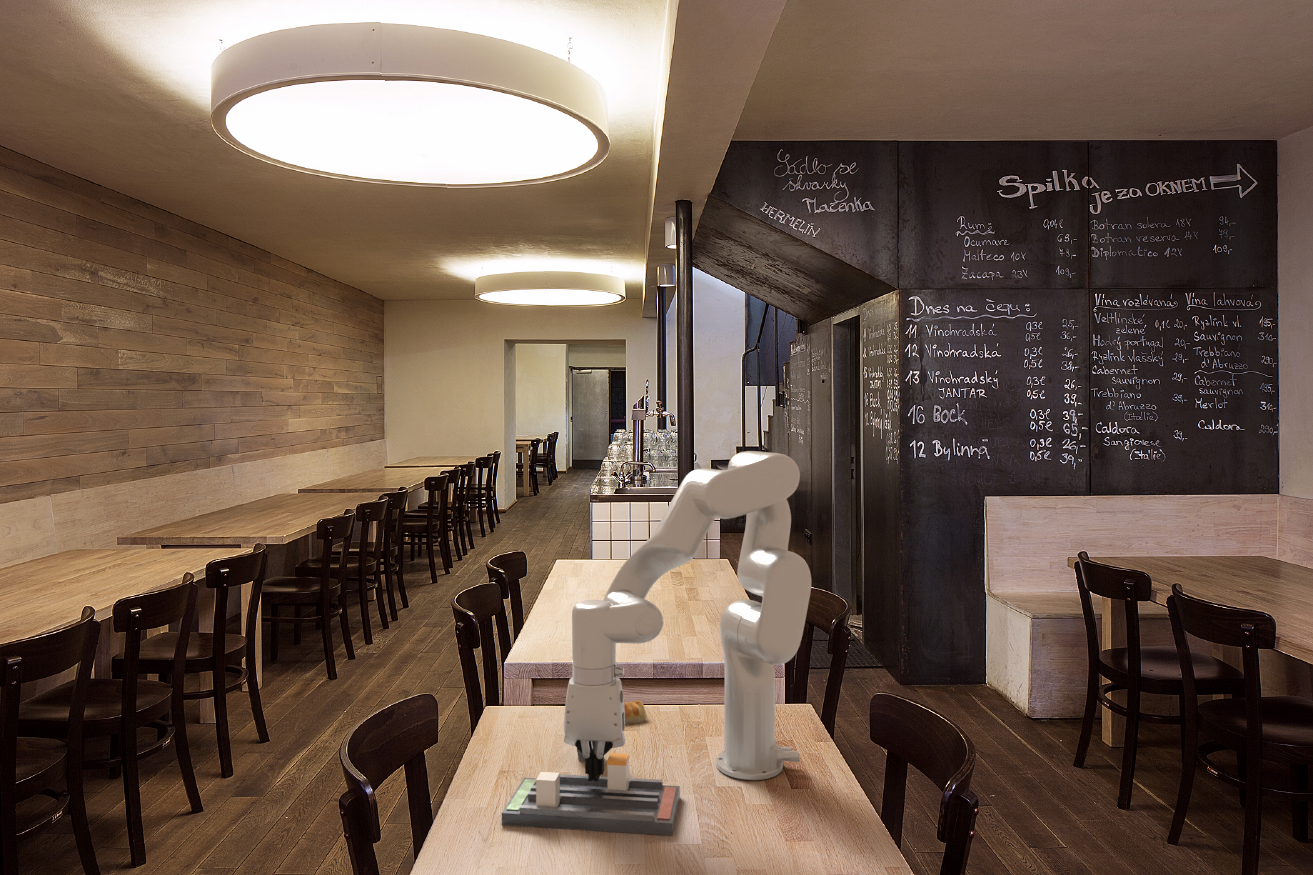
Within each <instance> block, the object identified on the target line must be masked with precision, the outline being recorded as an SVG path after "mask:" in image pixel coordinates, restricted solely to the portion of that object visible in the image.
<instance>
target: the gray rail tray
mask: <svg viewBox="0 0 1313 875" xmlns="http://www.w3.org/2000/svg"><path fill="white" fill-rule="evenodd" d="M537 778H538V777H524V778H523V779H522V781H521V782H520V783H519V786H518V787H517V789H516V790H515V792H514V793H513V795H512V796H511V798H510V799H509V801H508V802H507V803H506V806H505V807H504V809H503V810H502V812H501V826H511V827H530V828H542V829H543V828H544V829H547V828H548V829H561V830H572V831H573V830H576V831H588V832H589V831H590V832H604V833H605V832H606V833H608V832H609V833H623V834H638V835H639V834H640V835H641V834H642V835H651V836H652V835H653V836H654V835H656V836H673V834H674V828H675V822H676V818H677V813H678V809H679V804H680V797H681V787H680V785H666V784H663V783H664V780H663V779H653V778H637V777H636V778H634V777H629V788H628V790H627V791H624V790H608V776H602V775H600V778H599V780H598V782H595V781H594V780H593V781H588V775H582V774H581V775H579V774H562V773H561V774H560V803H559V805H558V807H550V806H536V779H537Z"/></svg>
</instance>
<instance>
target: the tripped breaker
mask: <svg viewBox="0 0 1313 875" xmlns="http://www.w3.org/2000/svg"><path fill="white" fill-rule="evenodd" d="M629 756H630V754H629V753H622V752H621V753H619V752H618V753H617V752H616V753H615V752H610V753H609V755H608V758H607V761H606V762H607V764H606V765H607V766H606V768H607V777H608V790H624V791H627V790H628V788H629V778H630V776H629V774H630V773H629V771H630V765H629V764H630V763H629V762H630V759H629V758H630V757H629Z"/></svg>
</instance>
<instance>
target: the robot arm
mask: <svg viewBox="0 0 1313 875" xmlns="http://www.w3.org/2000/svg"><path fill="white" fill-rule="evenodd" d="M800 477H801V473H800V468H799V466H798V464H797V463H796V462H795V460H794V459H793V458H791V457H790V456H788V455H787V454H783V453H778V452H768V451H767V452H765V451H758V450H757V451H756V450H746V451H741V452H739V453H736V454H735V455H733V456H732V457H731V458H730V459H729V462H728V465H727V469H725V470H724V469H723V470H722V469H714V468H696V469H694V470H691V471H690V472H688V473H687V474H686V475H685V477H684V478H683V479H682V481H681V483H680V484H679V486H678V488H677V490H676V492H675V494H674V495H673V498H672V499H671V501H670V503H669V505H668V506H667V508H666V510H665V512H664V514H663V516H662V517H661V519H660V521H659V523H658V524H657V526H656V528H655V530H654V532H653V533H652V534H651V536H650V537H649V538H648V539H647V540H646V541H645V542H644V543H643V544H642V545H641V546H639V547H638V549H637V550H636V551H635V552H634V553H633V554H631V556H630V557H629V558H627V560H626V561H625V562H624V563H623V565H622V566H621V567H620V568H619V570H618V571H617V574H616V575H615V577H614V578H613V580H612V582H611V584H610V585H609V588H608V589H607V591H606V593H605V595H604V598H603V599H587V600H582V601H579V602H577V603H575V604H574V606H573V608H572V611H571V638H572V639H571V647H572V648H571V659H572V660H571V661H572V662H571V663H572V664H571V665H572V672H571V674H572V677H571V678H569V681H568V684H567V691H566V697H565V706H564V720H563V732H564V738H563V743H564V744H566V745H569V746H573V747H575V748H576V749H577V748H578V749H579V750H580V752H581V753H582V754H583V757H584V758H585V763H584V765H585V766H584V767H585V768H584V771H585V772H584V773H585V775H587V776H588V781H593V780H594V781H595V782H598V780H599V778H600V776H603V775H604V772H605V755H607V753H608V752H610V751H611V750H612V749H616V748H617V749H618V748H621V747H624V746H625V744H626V738H625V733H624V731H625V728H626V724H625V710H624V702H625V701H624V692H623V686H622V681H621V679H620V678H619V677H620V676H623V677H624V675H625V667H621V666H618V664H617V661H616V660H617V652H616V649H617V648H616V646H617V645H616V644H637V645H638V644H646V643H649V642H651V641H653V640H655V639H656V638H657V637H659V635H660V634H661V631H662V630H663V627H664V616H663V614H662V612H661V610H660V609H659V607H658V606H657V605H656V604H654V603H653V602H651V601H649V600H648V599H646V598H647V596H648V593H649V592H650V590H651V588H652V587H653V586H654V585H655V584H656V582H657V581H658V580H659V579H660V578H661V577H662V576H664V575H665V574H666V573H668V572H669V571H672V570H674V569H676V568H679V567H681V566H684V565H685V564H686V565H687V563H689V562H691V561H692V560H693V559H694V558H695V556H696V554H697V553H698V551H699V549H700V547H701V545H702V543H703V541H704V539H705V537H706V536H707V533H708V532H709V531H710V528H711V526H712V524H713V523H714V522H715V520H716V518H718V519H723V520H726V519H727V520H729V519H734V518H737V517H742V516H745V515H746V521H745V530H744V534H743V539H742V544H741V550H740V554H739V559H738V565H737V573H736V575H737V580H738V582H739V584H740V586H741V587H742V588H743V589H745V590H746V591H748V592H750V593H751V594H754V595H756V596H759V597H762V599H761V602H759V601H756V600H751V599H747V598H746V599H737V600H734V601H733V602H731V603H730V604H728V605H727V607H726V608H725V609H724V611H723V612H722V615H721V618H720V623H719V635H720V640H721V647H722V651H723V652H722V654H723V662H724V664H723V665H724V666H723V668H724V722H723V723H724V724H723V725H724V726H723V727H724V743H723V744H724V749H723V750H724V751H722V752H720V753H719V754H718V755H717V757H716V760H715V761H716V764H715V765H716V767H717V768H716V769H718V770H719V771H720V772H721V773H722V774H725V775H726V776H729V777H731V778H734V779H738V780H745V781H746V780H747V781H762V780H767V779H771V778H774V777H776V776H777V775H779V774H780V773H781V772H782V771H783V768H784V762H790V763H791V762H792V763H799V762H800V751H799V750H798V751H797V750H793V747H792V746H781V745H779V744H777V738H776V734H775V733H776V732H775V731H776V729H775V728H776V724H775V722H776V720H775V719H776V716H775V715H776V714H775V713H776V712H775V711H776V709H775V708H776V707H775V706H776V705H775V704H776V698H775V697H776V694H775V693H776V688H775V687H776V674H775V666H779V665H783V664H786V663H788V662H790V661H791V660H792V659H793V658H794V656H795V655H796V654H797V652H798V650H799V648H800V646H801V643H802V642H801V641H802V637H803V635H804V630H805V629H804V628H805V624H806V620H807V619H806V618H807V613H808V608H809V603H810V597H811V590H812V574H811V570H810V568H809V565H808V563H807V562H806V560H805V559H804V558H803V557H802V556H800V554H797V553H795V552H793V551H790V550H789V541H790V534H791V524H792V514H791V509H790V504H789V502H788V498H789V497H791V496H792V495H793V494H794V493H795V491H796V490H797V489H798V487H799V484H800V481H801V480H800V479H801V478H800ZM592 741H598V747H597V752H596V753H595V751H594V750H593V746H592Z"/></svg>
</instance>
